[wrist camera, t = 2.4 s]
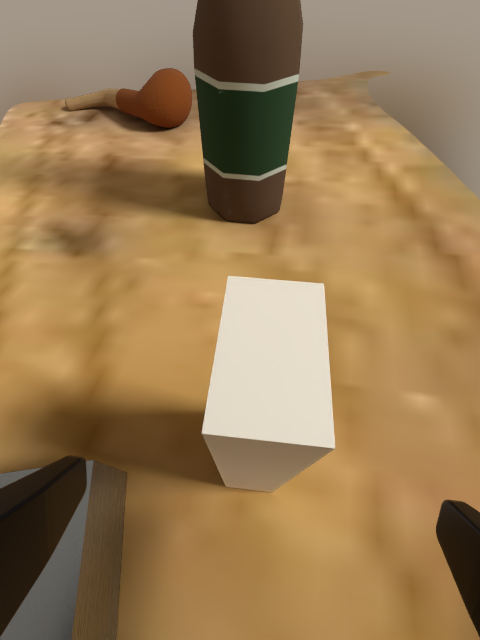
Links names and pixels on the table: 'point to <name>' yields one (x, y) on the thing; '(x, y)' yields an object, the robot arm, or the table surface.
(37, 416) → the table surface
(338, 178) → the table surface
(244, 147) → the beer bottle
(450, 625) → the table surface
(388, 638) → the table surface
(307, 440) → the block
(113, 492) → the box
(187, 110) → the smoking pipe
